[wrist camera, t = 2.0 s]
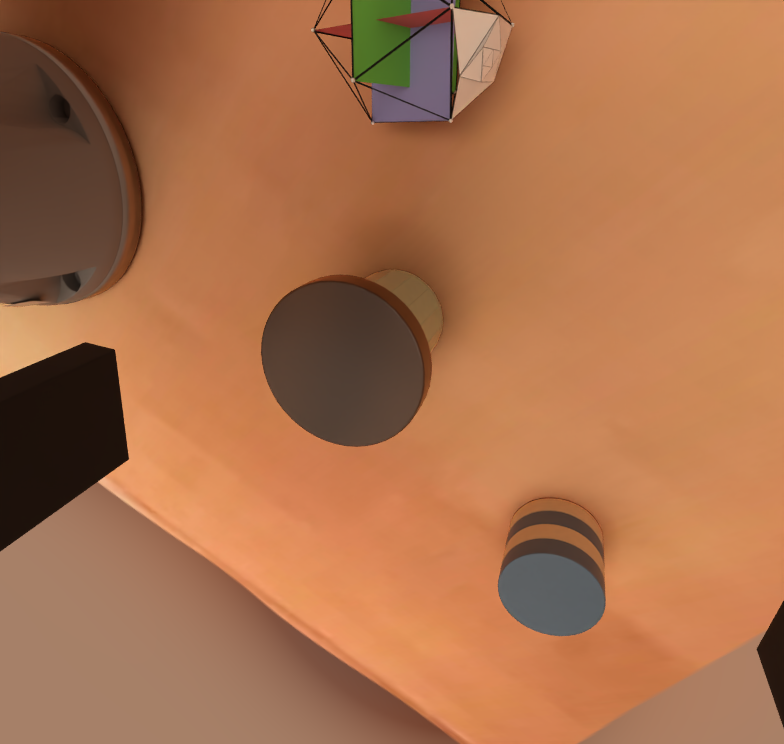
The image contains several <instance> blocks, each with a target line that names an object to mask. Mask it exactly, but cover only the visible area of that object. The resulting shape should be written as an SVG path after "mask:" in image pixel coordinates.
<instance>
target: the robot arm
mask: <svg viewBox="0 0 784 744" xmlns="http://www.w3.org/2000/svg"><path fill="white" fill-rule="evenodd" d="M141 216H142V204H141V191H140V183H139V177H138V173H137V168H136V164H135V160H134V157H133V153H132V151H131V148H130V145H129V142H128V139H127V137H126V135H125V132H124V130H123V128H122V126H121V124H120V122H119V120H118V118H117V116H116V114H115V112H114V111H113V109H112V107H111V106H110V104H109V102H108V101H107V99H106V98H105V96H104V95H103V94H102V92H101V91H100V89H99V88H98V87H97V86H96V84H95V83H94V82H93V81H92V80H91V79H90V77H89V76H88V75H87V74H86V73H85V72H84V71H83V70H82V69H81V68H80V67H79V66H78V65H77V64H75V63H74V62H73V61H72V60H71V59H70V58H68V57H67V56H65V55H64V54H63V53H61V52H60V51H58V50H57V49H55V48H53V47H51V46H50V45H48V44H46V43H43V42H41V41H39V40H36V39H33V38H29V37H26V36H20V35H15V34H10V33H5V32H0V303H6V304H11V305H5V307H23V306H29V305H58V304H68V303H73V302H76V301H80V300H83V299H86V298H89V297H92V296H95V295H98V294H100V293H102V292H104V291H106V290H107V289H109V288H110V287H111V286H113V285H114V284H115V283H116V282H117V281H118V280H119V279H120V278H121V277H122V275H123V274H124V273H125V271H126V270H127V268H128V266H129V265H130V263H131V260H132V258H133V256H134V254H135V250H136V247H137V244H138V240H139V235H140V228H141ZM127 460H129V456H128V449H127V441H126V433H125V425H124V417H123V409H122V401H121V393H120V385H119V377H118V369H117V362H116V354H115V350H114V349H110V348H106V347H102V346H98V345H94V344H90V343H86V342H85V343H82V344H80V345H78V346H75V347H73V348H70V349H68V350H66V351H63V352H61V353H58V354H56V355H54V356H51V357H49V358H46V359H44V360H42V361H39V362H37V363H34V364H32V365H30V366H27V367H25V368H22V369H20V370H18V371H15V372H13V373H10V374H8V375H6V376H3V377H1V378H0V551H1V550H3V549H4V548H6V547H7V546H8V545H10V544H11V543H13V542H14V541H15V540H17V539H18V538H20V537H21V536H22V535H24V534H25V533H27V532H28V531H29V530H31V529H32V528H34V527H35V526H36V525H38V524H39V523H41V522H42V521H43V520H45V519H46V518H47V517H49V516H50V515H52V514H53V513H54V512H56V511H57V510H59V509H60V508H62V507H63V506H64V505H66V504H67V503H69V502H70V501H71V500H73V499H74V498H75V497H77V496H78V495H80V494H81V493H82V492H84V491H85V490H87V489H88V488H89V487H91V486H92V485H94V484H95V483H96V482H98V481H99V480H101V479H102V478H103V477H105V476H106V475H108V474H109V473H110V472H112V471H113V470H115V469H116V468H117V467H119V466H120V465H122V464H123V463H124V462H126V461H127ZM757 651H758V654H759V657H760V660H761V663H762V666H763V669H764V672H765V675H766V678H767V681H768V684H769V686H770V689H771V692H772V695H773V698H774V701H775V704H776V707H777V710H778V712H779V716H780V718H781V721H782V724H783V727H784V601H783V603H782V605H781V606H780V608H779V610H778V612H777V614H776V615H775V617H774V619H773V621H772V622H771V624H770V626H769V628H768V630H767V631H766V633H765V635H764V637H763V639H762V640H761V642H760V644H759V646H758V648H757Z"/></svg>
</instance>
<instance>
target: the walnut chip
mask: <svg viewBox="0 0 784 744" xmlns="http://www.w3.org/2000/svg"><path fill="white" fill-rule="evenodd" d="M261 355H262V364H263V369H264V373H265V376H266V379H267V382H268V385H269V387H270V389H271V391H272V393H273V395H274V397H275V398H276V400H277V402H278V403H279V404H280V406H281V407H282V408H283V410H284V411H285V412H286V413H287V414H288V415H289V416H290V417H291V419H293V420H294V421H295V422H296V423H297V424H298V425H299V426H301V427H302V428H304V429H305V430H306V431H308V432H309V433H311V434H313V435H315V436H316V437H318V438H321V439H323V440H325V441H328V442H331V443H335V444H339V445H344V446H356V447H358V446H368V445H373V444H378V443H380V442H383V441H386V440H388V439H390V438H392V437H394V436H395V435H397V434H398V433H399V432H401V431H402V430H403V429H404V428H405V427H406V426H407V425H408V424H409V423H410V422H411V420H412V419H413V417H414V416H415V415H416V413H417V411H418V410H419V408H420V407H421V405H422V403H423V401H424V399H425V398H426V395H427V392H428V389H429V386H430V381H431V374H432V362H431V353H430V349H429V344H428V341H427V338H426V336H425V333H424V331H423V329H422V327H421V325H420V323H419V321H418V320H417V318H416V317H415V316H414V314H413V313H412V311H411V310H410V309H409V308H408V307H407V306H406V304H405V303H404V302H403V301H402V300H400V299H399V298H398V297H397V296H396V295H395V294H393V293H392V292H390V291H389V290H388V289H386V288H385V287H383V286H381V285H379V284H377V283H375V282H372V281H370V280H367V279H364V278H360V277H356V276H350V275H330V276H325V277H321V278H318V279H315V280H312V281H310V282H308V283H306V284H304V285H302V286H300V287H298V288H296V289H295V290H293V291H291V292H290V293H288V294H287V295H286V296H285V297H283V298H282V299H281V300H280V302H279V303H278V304H277V305H276V306H275V308H274V309H273V311H272V312H271V314H270V316H269V318H268V320H267V322H266V325H265V328H264V332H263V337H262V345H261Z"/></svg>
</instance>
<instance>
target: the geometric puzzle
mask: <svg viewBox="0 0 784 744" xmlns="http://www.w3.org/2000/svg"><path fill="white" fill-rule="evenodd" d="M331 1H332V0H331ZM331 1H330V2H329V4H328V6H329V5H330V3H331ZM480 1H481V2H483V3H484V4H485V5H486V6H487V7H489V8H490V9H491V10H492V11H494V12H495V13H496V14H493V13H487V12H481V11H476V10H470V9H464V8H460V0H351V24H348V25H342V26H336V27H330V28H324V29H319V30H315V28H316V26H317V25H318V23H319V21H320V20H321V18H322V16H323V15H324V13H325V11H326V10H327V8H328V6H327V7H326V9H325V11H324V12H323V14H322V16H321V18H320V19H319V17H320V15H319V17H318V19H319V21H318V20H317V22H318V23H317V22H316V25H315V27H314V28H312V29H311V31H312V32H314V33H315V34H316V36H317V37H318V39H319V40H320V42H321V41H322V40H321V38H320V37H319V36H318V34H317V33H321V34H326V35H331V36H337V37H342V38H347V39H351V42H352V77H351V76H350V75H349V74H348V72H347V71H346V70H345V68H344V67H343V66H342V65H341V63H340V62H339V61H338V60H337V58H336V57H335V56H334V55H333V53H332V52H331V51H330V50H329V48H328V47H327V46H326V45H325V43H324V42H323V41H322V42H321V44H322V45H323V44H324V45H325V46H326V48H327V49H328V50H329V51H330V53H331V54H332V55H333V57H334V58H335V59H336V60H337V62H338V63H339V64H340V65H341V67H342V68H343V69H344V70H345V72H346V73H347V74H348V75H349V77H350V78H351V82H352V83H354V85H355V87H356V84H355V82H356V83H358V84H361V85H363V86H366V87H368V88H371V89H372V119H371V117H370V115H369V113H368V111H367V109H366V106H365V104H364V102H363V100H362V98H361V95H360V93H359V91H358V89H357V87H356V89H357V91H358V93H359V96H360V98H361V100H362V102H363V104H364V107H365V109H366V111H367V112H366V111H365V109H364V107H363V106H362V104H361V103H360V101H359V100H358V98H357V96H356V95H355V93H354V92H353V90H352V89H351V87H350V86H349V84H348V82H347V81H346V79H345V78H344V76H343V75H342V73H341V71H340V70H339V68H338V67H337V65H336V64H335V62H334V61H333V59H332V57H331V56H330V54H329V53H328V51H327V50H326V48H325V46H324V45H323V47H324V48H325V50H326V51H327V53H328V55H329V56H330V58H331V59H332V61H333V62H334V64H335V65H336V67H337V69H338V70H339V72H340V73H341V75H342V76H343V78H344V79H345V81H346V83H347V84H348V86H349V87H350V89H351V90H352V92H353V94H354V95H355V97H356V98H357V100H358V101H359V103H360V104H361V106H362V108H363V109H364V111H365V112H366V114H367V113H368V114H367V115H368V117H369V119H370V120H371V124H372V125H374V124H375V123H384V122H426V121H449V122H450V123H452V121H453V120H452V119H453V118H454V117H456V116H457V115H458V114H459V113H460V112H461V111H462V110H463V109H464V108H466V107H467V106H468V105H469V104H470V103H471V102H472V101H473V100H474V99H476V98H477V97H478V96H479V95H480V94H481V93H482V92H483V91H484V90H486V89H487V88H488V87H489V86H490V85H491V84H492V83H493V82H494V80H495V77H496V74H497V71H498V68H499V65H500V62H501V59H502V56H503V53H504V50H505V47H506V44H507V41H508V38H509V35H510V32H511V29H512V27H514V23H510V22H511V20H510V22H509V21H508V20H507V19H506V18H504V17H503V16H502V15H501V14H499V13H498V12H497V11H496V10H495V9H493V8H492V7H491V6H490V5H488V4H487V3H486V2H485V1H484V0H480ZM325 2H326V0H325ZM501 2H502V1H501ZM502 4H503V3H502ZM324 5H325V3H324ZM324 5H323V7H324ZM503 6H504V5H503ZM323 7H322V9H323ZM504 9H505V7H504ZM505 11H506V10H505ZM321 12H322V10H321ZM321 12H320V14H321ZM506 13H507V12H506ZM507 15H508V14H507ZM508 17H509V16H508ZM509 19H510V18H509ZM457 65H458V70H459V80H458V86H457ZM358 81H359V82H358ZM360 82H367V83H372V87H370V86H367V85H365V84H362V83H360ZM456 88H457V90H456ZM452 94H455V95H454V100H453V106H452Z"/></svg>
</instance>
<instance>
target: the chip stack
mask: <svg viewBox="0 0 784 744" xmlns="http://www.w3.org/2000/svg"><path fill="white" fill-rule="evenodd" d="M498 592H499V596H500V599H501V601H502V603H503V605H504V607H505V608H506V609H507V611H508V612H509V613H510V614H511V615H512V616H513V617H514V618H515V619H516V620H517V621H519V622H520V623H521V624H523V625H525V626H526V627H528V628H530V629H532V630H535V631H537V632H540V633H544V634H548V635H554V636H570V635H576V634H580V633H582V632H585V631H587V630H589V629H590V628H592V627H593V626H594V625H596V624H597V622H598V621H599V620H600V619H601V617H602V615H603V613H604V610H605V572H604V543H603V534H602V531H601V528H600V526H599V524H598V523H597V521H596V520H595V519H594V517H593V516H592V515H591V514H590V513H589V512H587V511H586V510H585V509H583V508H582V507H580V506H578V505H577V504H574V503H572V502H569V501H566V500H562V499H556V498H544V499H538V500H534V501H532V502H529V503H527V504H525V505H524V506H522V507H521V508H520V509H519V510H518V511H517V512H516V513H515V515H514V516H513V518H512V520H511V523H510V528H509V532H508V537H507V542H506V547H505V551H504V556H503V561H502V566H501V571H500V575H499V580H498Z"/></svg>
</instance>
